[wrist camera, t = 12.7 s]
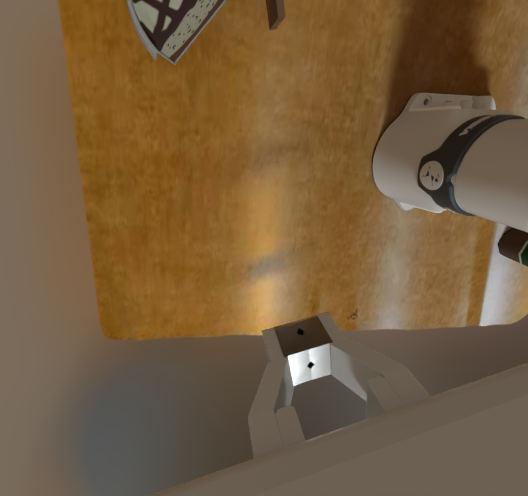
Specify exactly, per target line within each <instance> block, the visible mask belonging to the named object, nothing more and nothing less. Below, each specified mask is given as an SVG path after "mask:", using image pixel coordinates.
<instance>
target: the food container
mask: <svg viewBox="0 0 528 496" xmlns="http://www.w3.org/2000/svg"><path fill="white" fill-rule="evenodd" d="M225 2H226V0H127V5H128V9H129V13H130V16H131V19H132V21H133V24H134V27H135V29H136V31H137V33H138V35H139V37H140V39H141V41H142V42H143V44H144V45H145V47H146V48H147V50H148V51H149V53H150V54H151V55H152V56H153V57H154V59H155V60H156V59H157V54H156V53H159V54H160V55H161V56H163V57H164V58H165V59H167V60H168V61H169V62H171V63H172V64H174V65H175V64H176V62H177V61H178V60H179V59H180V57H181V56H182V55H183V54H184V52H185V51H186V50H187V49H188V48H189V46H190V45H191V44H192V43H193V41H194V40H195V39H196V38H197V36H198V35H199V34H200V33H201V31H202V30H203V29H204V28H205V26H206V25H207V24H208V23H209V21H210V20H211V19H212V18H213V17H214V15H215V14H216V13H217V12H218V10H219V9H220V8H221V7H222V5H223V4H224V3H225Z"/></svg>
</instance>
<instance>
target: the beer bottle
mask: <svg viewBox="0 0 528 496" xmlns="http://www.w3.org/2000/svg"><path fill="white" fill-rule="evenodd" d="M498 248H499V252H500V254H502V255H504V256H506V257H508V258H510V259H512V260H514V261H517V262H519V263H521V264H523V265H526V266H528V232H525V231H522V230H519V229H516V228H512V229H510V230H509V231H507V232H506V233H505V234H504V235H503V237H502V238H501V240H500V242H499V244H498Z"/></svg>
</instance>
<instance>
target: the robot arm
mask: <svg viewBox="0 0 528 496" xmlns="http://www.w3.org/2000/svg"><path fill="white" fill-rule="evenodd" d="M424 100H425V103H424ZM373 177H374V181H375V183H376V185H377V187H378V189H379V190H380V191H381V192H382V193H383V194H385V195H386V196H388V197H390V198H392V199H394V200H395V201H396V203H397V205H398V206H399V207H400V208H401V209H403V210H410V209H412V208H415V207H417V208H420V209H424V210H427V211H431V212H435V213H441V212H442V211H445V210H448V211H451V212H454V213H457V214H463V215H467V216H480V217H483V218H486V219H489V220H492V221H495V222H498V223H501V224H504V225H507V226H510V227H513V228H516V229H519V230H522V231H525V232H528V119H525V118H524V117H521V116H516V115H513V113H512V112H511V111H510V110H496V105H495V101H494V99H493V98H492V96H469V95H453V94H437V93H415V94H414V95H413V96H412V97H411V98H410V100H409V101H408V103H407V105H406V106H405V108H404V110H403V112H402V113H401V115H400V116H399V117H398V118H397V119H396V120H395V121H394V122H393V123H392V124H391V125H390V126H389V127H388V128H387V129H386V131H385V132H384V134H383V135H382V137H381V139H380V140H379V142H378V145H377V147H376V150H375V153H374V158H373ZM262 333H263V337H264V341H265V345H266V350H267V354H268V358H269V363H267V366H266V369H265V372H264V374H263V377H262V380H261V383H260V385H259V388H258V391H257V394H256V397H255V399H254V402H253V405H252V408H251V411H250V413H249V416H248V421H249V428H250V436H251V442H252V449H253V456H254V459H252V460H250V461H247V462H244V463H241V464H238V465H235V466H232V467H229V468H227V469H224V470H221V471H218V472H215V473H213V474H209V475H207V476H204V477H201V478H198V479H195V480H192V481H190V482H187V483H184V484H181V485H178V486H175V487H172V488H170V489H167V490H164V491H161V492H158V493H155V494H152V495H150V496H528V363H526V364H523V365H520V366H517V367H514V368H512V369H509V370H506V371H503V372H500V373H497V374H494V375H492V376H489V377H486V378H483V379H480V380H477V381H475V382H472V383H469V384H466V385H463V386H460V387H457V388H455V389H452V390H449V391H446V392H444V393H441V394H437V395H435V396H432V397H431V396H430V395H429V394H428V393H427V391H426V390H425V389H424V388H423V387H422V385H421V384H420V383H419V382H418V381H417V379H416V378H415V377H414V376H413V375H412V374H411V372H410V371H409V370H408V369H407V368H406V366H404V365H402V364H400V363H398V362H396V361H394V360H392V359H390V358H388V357H386V356H384V355H382V354H380V353H378V352H376V351H374V350H372V349H370V348H368V347H366V346H364V345H362V344H360V343H358V342H356V341H354V340H352V339H350V338H347V339H346V338H345V337H344V335H343V334H342V332H341V331H340V329H339V328H338V326H337V325H336V323H335V322H334V320H333V319H332V317H331V316H330V314H329V313H328V312H324V313H321V314H318V315H314V316H311V317H308V318H304V319H301V320H298V321H295V322H292V323H288V324H284V325H280V326H276V327H274V328H270V329H266V330H262ZM329 374H332V375H333V376H334V377H335V378H337V379H338V380H339V381H341V382H342V383H343V384H345V385H346V386H347V387H348V388H350V389H351V390H352V391H354V392H355V393H356V394H358V395H359V396H360V397H361V398H363V399H364V400H365V401H367V404H366V420H363V421H361V422H357V423H355V424H352V425H349V426H346V427H344V428H341V429H338V430H335V431H332V432H329V433H327V434H324V435H321V436H318V437H315V438H312V439H309V440H307V441H305V438H304V435H303V432H302V429H301V426H300V423H299V420H298V417H297V414H296V411H295V408H294V407H292V406H290V404H291V399H292V394H293V389H294V386H295V385H298V384H301V383H304V382H306V381H309V380H312V379H316V378H319V377H322V376H325V375H329Z"/></svg>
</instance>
